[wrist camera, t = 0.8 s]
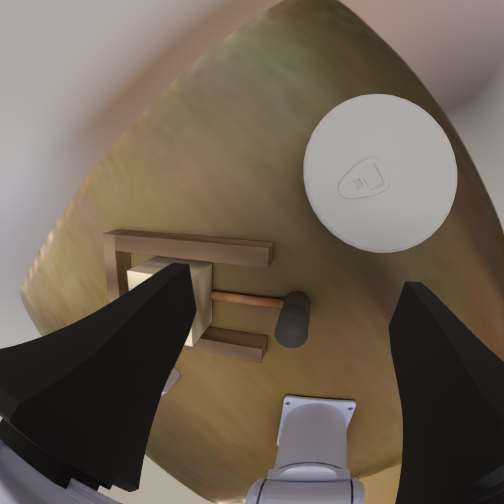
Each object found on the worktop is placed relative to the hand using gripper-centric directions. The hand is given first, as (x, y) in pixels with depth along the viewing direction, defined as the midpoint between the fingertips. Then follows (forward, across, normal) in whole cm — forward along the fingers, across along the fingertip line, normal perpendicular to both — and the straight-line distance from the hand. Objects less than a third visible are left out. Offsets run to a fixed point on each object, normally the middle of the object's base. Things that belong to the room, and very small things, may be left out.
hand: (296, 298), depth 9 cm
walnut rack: (+13, +10, +11) cm, 20 cm away
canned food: (+16, -4, 0) cm, 17 cm away
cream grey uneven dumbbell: (+13, +6, +11) cm, 18 cm away
